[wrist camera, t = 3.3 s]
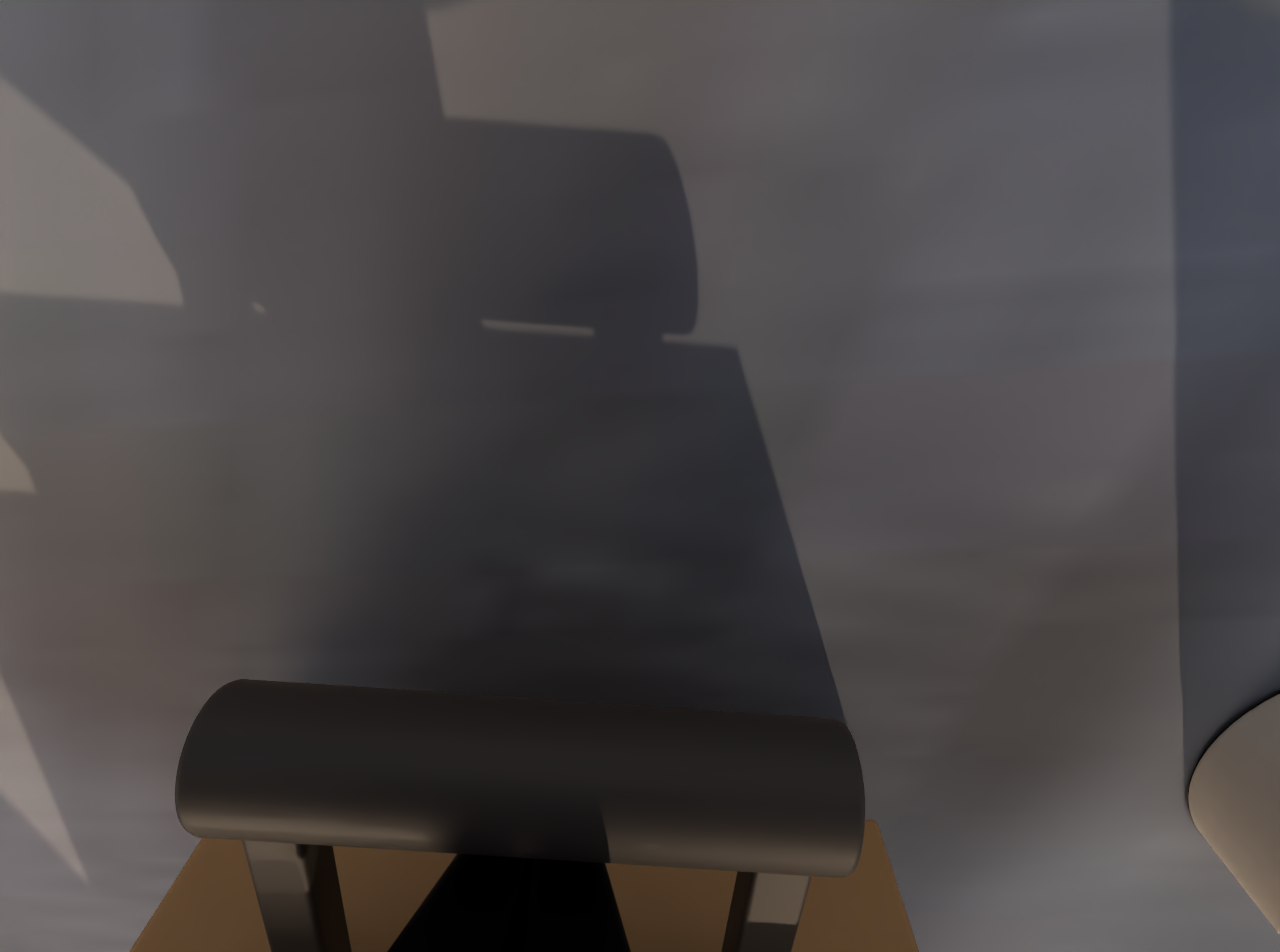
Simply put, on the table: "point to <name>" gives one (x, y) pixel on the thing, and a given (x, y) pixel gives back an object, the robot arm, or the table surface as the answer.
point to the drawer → (519, 819)
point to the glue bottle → (1244, 803)
